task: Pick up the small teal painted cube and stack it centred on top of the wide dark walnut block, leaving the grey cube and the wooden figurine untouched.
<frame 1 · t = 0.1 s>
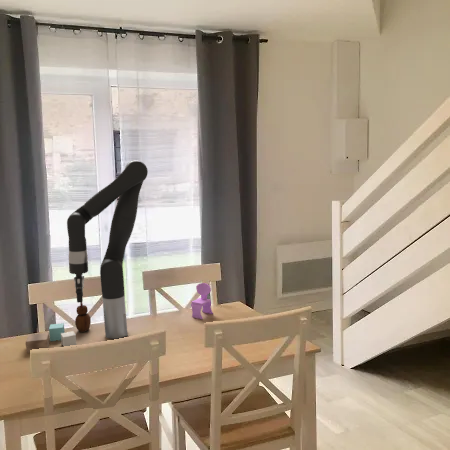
hand: (80, 299, 217), 17 cm above the table, tool pointing down, fingers open, 8 cm apart
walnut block: (38, 348, 212), on the table
wooden figurine: (83, 330, 230), on the table
grey cube: (69, 345, 213), on the table
teal cube: (57, 338, 222), on the table
toy chair: (202, 316, 243), on the table
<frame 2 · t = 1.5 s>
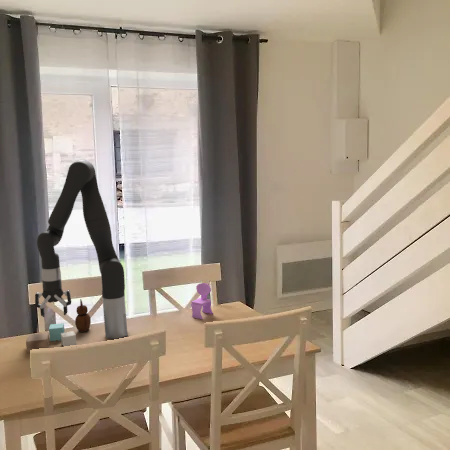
hand: (54, 315, 220), 10 cm above the table, tool pointing down, fingers open, 8 cm apart
nothing on the table moved.
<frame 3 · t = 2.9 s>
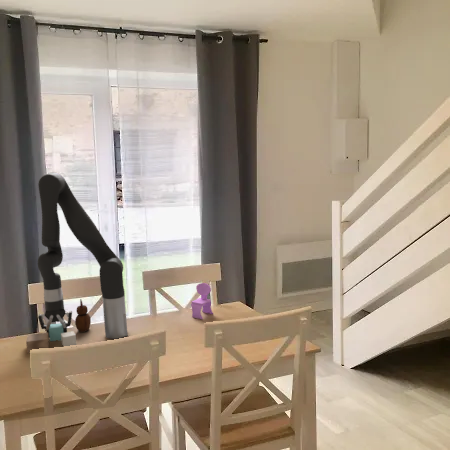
hand: (57, 336, 222), 1 cm above the table, tool pointing down, fingers closed on teal cube, 5 cm apart
teal cube: (57, 338, 222), on the table, touching gripper
everything else where it was.
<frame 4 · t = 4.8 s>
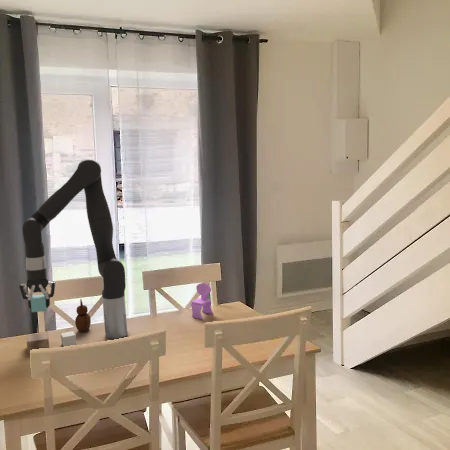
hand: (39, 307, 212), 16 cm above the table, tool pointing down, fingers closed on teal cube, 5 cm apart
teal cube: (39, 309, 212), point 15 cm above the table, touching gripper
everything else where it was.
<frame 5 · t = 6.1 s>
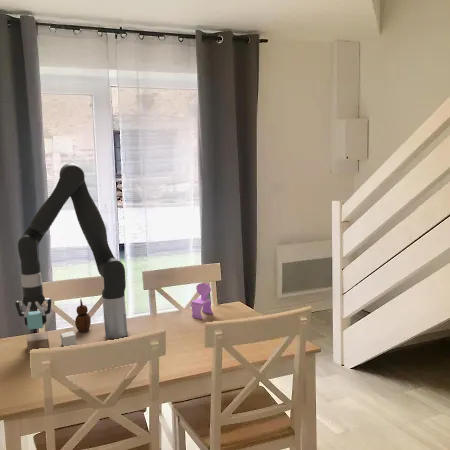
hand: (36, 324, 210), 10 cm above the table, tool pointing down, fingers closed on teal cube, 5 cm apart
teal cube: (36, 326, 210), point 9 cm above the table, touching gripper
everything else where it was.
when the fingers open (7 cm above the table, at t = 7.1 s): teal cube drops 1 cm, point 5 cm above the table.
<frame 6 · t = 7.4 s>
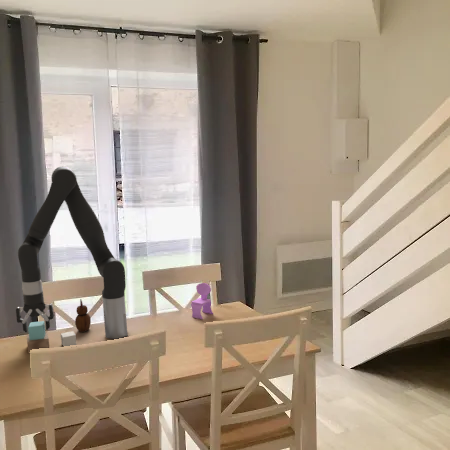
hand: (36, 330, 211), 7 cm above the table, tool pointing down, fingers open, 7 cm apart
teal cube: (37, 337, 211), point 5 cm above the table
everything else where it was.
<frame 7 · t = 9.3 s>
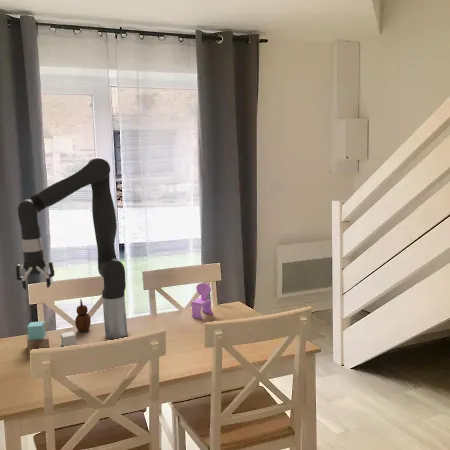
hand: (37, 288, 212), 24 cm above the table, tool pointing down, fingers open, 8 cm apart
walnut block: (38, 348, 212), on the table, touching teal cube
teal cube: (37, 337, 211), point 5 cm above the table, touching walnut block
everything else where it was.
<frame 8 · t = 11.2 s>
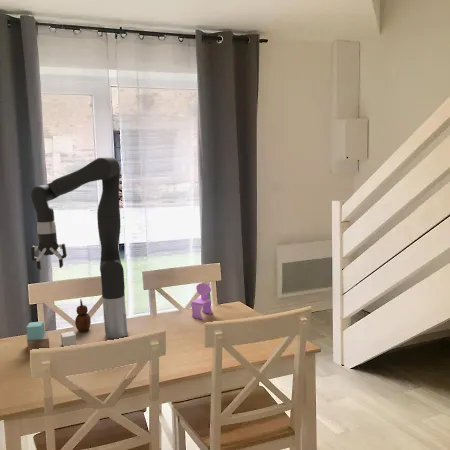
hand: (50, 268, 226), 28 cm above the table, tool pointing down, fingers open, 8 cm apart
nothing on the table moved.
at the end: teal cube 0.6 cm off-centre on the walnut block, point 5.0 cm above the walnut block's base; teal cube tilted 0°; the gripper is holding nothing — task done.
